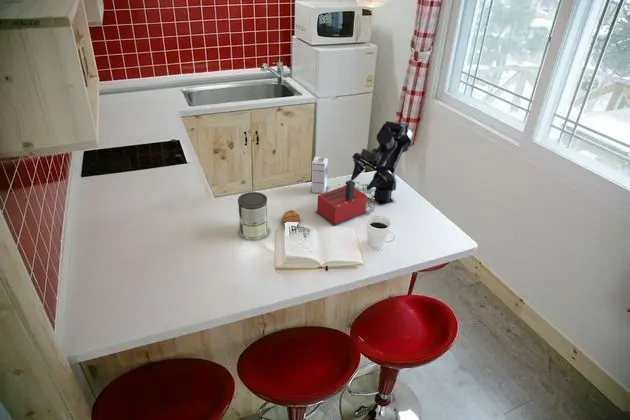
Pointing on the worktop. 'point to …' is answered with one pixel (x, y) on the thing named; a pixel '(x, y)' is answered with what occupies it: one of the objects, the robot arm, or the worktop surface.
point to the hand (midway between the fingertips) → (359, 184)
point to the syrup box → (319, 174)
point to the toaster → (341, 205)
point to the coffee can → (253, 215)
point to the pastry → (290, 216)
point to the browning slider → (349, 189)
